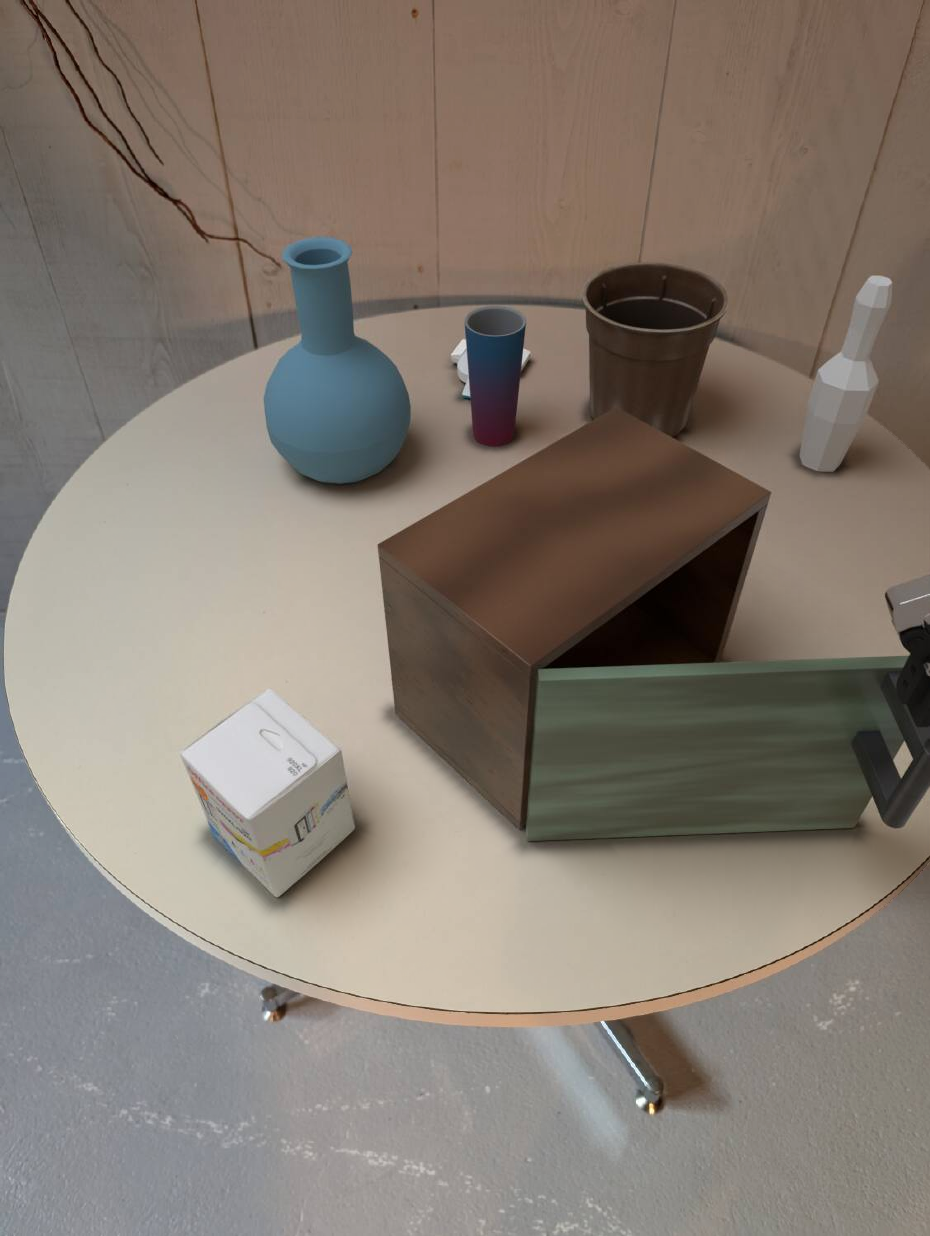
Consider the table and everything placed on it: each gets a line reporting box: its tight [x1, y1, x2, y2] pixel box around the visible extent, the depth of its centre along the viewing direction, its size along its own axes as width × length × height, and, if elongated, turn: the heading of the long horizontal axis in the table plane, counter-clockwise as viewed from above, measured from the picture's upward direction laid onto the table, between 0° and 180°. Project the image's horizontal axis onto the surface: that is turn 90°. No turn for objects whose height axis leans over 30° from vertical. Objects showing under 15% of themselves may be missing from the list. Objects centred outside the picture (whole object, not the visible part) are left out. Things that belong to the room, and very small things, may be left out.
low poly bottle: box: [799, 275, 893, 473], centre depth 99 cm, size 6×6×22 cm
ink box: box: [179, 687, 356, 898], centre depth 69 cm, size 9×8×12 cm
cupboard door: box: [525, 655, 930, 842], centre depth 63 cm, size 8×26×20 cm, turn 92°
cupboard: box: [377, 407, 772, 831], centre depth 76 cm, size 16×26×20 cm, turn 132°
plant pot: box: [581, 261, 730, 438], centre depth 107 cm, size 16×16×16 cm
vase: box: [263, 236, 412, 485], centre depth 99 cm, size 16×16×25 cm
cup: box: [464, 305, 527, 447], centre depth 105 cm, size 7×7×15 cm
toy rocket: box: [450, 338, 531, 399], centre depth 120 cm, size 16×10×2 cm, turn 159°
